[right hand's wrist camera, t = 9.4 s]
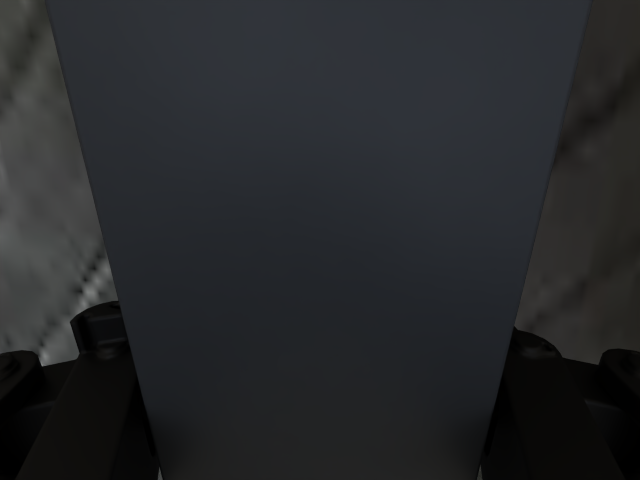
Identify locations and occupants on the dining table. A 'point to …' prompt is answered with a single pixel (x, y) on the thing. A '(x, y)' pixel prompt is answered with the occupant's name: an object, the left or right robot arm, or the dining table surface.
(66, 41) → the bar
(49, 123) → the dining table surface
